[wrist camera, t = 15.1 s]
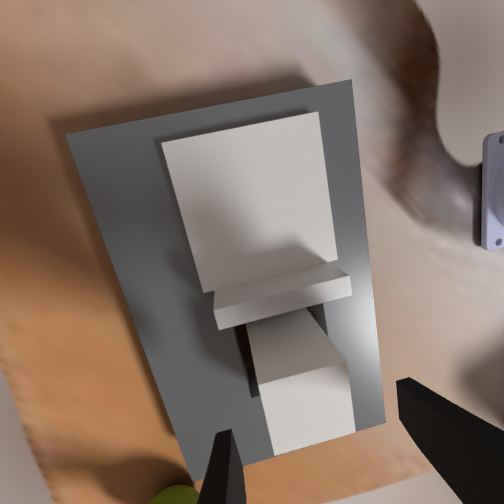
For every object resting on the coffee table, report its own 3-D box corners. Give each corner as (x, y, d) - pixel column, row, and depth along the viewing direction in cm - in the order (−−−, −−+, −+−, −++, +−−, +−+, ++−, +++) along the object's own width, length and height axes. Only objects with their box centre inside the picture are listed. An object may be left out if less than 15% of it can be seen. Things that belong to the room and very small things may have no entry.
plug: (306, 347, 18) (355, 432, 12) (254, 360, 18) (274, 456, 11) (298, 298, 17) (346, 360, 11) (243, 312, 17) (258, 385, 10)
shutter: (314, 114, 12) (342, 90, 9) (336, 273, 14) (364, 292, 12) (163, 145, 12) (145, 128, 9) (208, 305, 14) (205, 333, 11)
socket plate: (329, 98, 15) (351, 79, 12) (365, 395, 20) (385, 422, 17) (91, 145, 14) (64, 134, 11) (196, 445, 19) (192, 481, 16)
